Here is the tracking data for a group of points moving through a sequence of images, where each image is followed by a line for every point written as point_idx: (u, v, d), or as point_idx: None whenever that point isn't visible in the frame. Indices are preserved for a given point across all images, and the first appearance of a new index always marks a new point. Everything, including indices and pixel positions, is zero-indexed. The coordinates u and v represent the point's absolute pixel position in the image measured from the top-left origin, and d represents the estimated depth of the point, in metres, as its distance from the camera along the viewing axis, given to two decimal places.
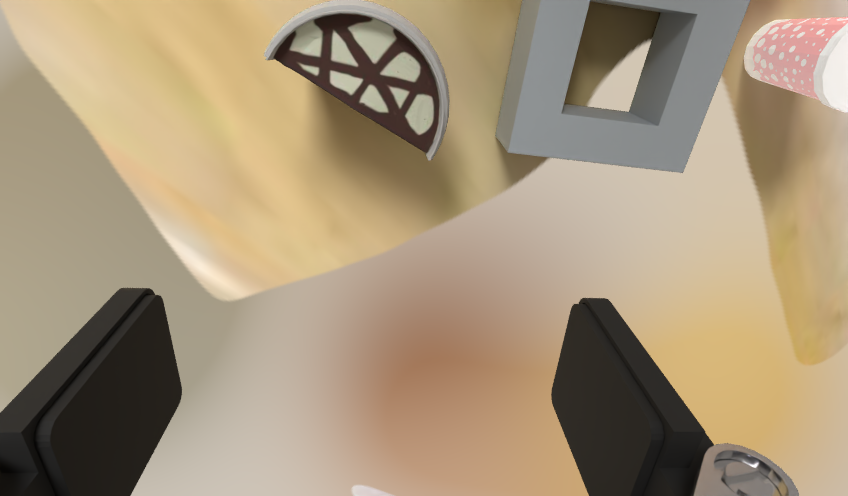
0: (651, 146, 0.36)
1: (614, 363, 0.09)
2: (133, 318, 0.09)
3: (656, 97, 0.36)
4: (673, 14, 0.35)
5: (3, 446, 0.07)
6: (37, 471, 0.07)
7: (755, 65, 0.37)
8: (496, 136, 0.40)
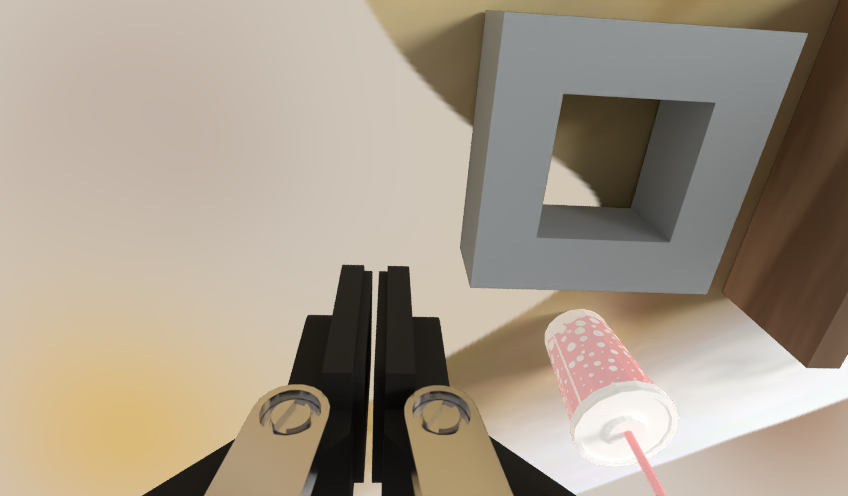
0: (508, 236, 0.26)
1: (377, 320, 0.10)
2: (366, 289, 0.11)
3: (560, 226, 0.27)
4: (643, 220, 0.29)
5: (334, 385, 0.08)
6: (349, 408, 0.08)
7: (571, 323, 0.33)
8: (488, 10, 0.25)
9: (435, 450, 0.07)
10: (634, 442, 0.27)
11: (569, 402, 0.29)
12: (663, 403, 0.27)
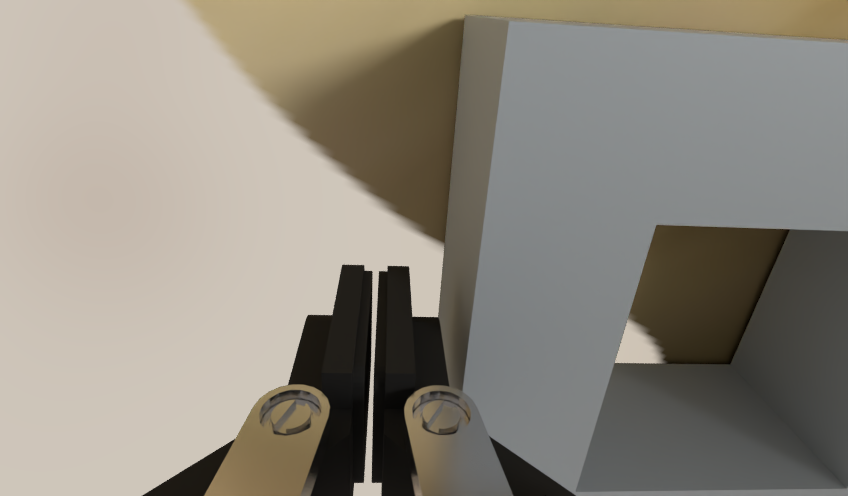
0: None
1: (377, 320, 0.10)
2: (366, 289, 0.11)
3: (618, 441, 0.14)
4: (764, 404, 0.16)
5: (334, 385, 0.08)
6: (349, 408, 0.08)
7: None
8: (470, 15, 0.11)
9: (435, 450, 0.07)
10: None
11: None
12: None
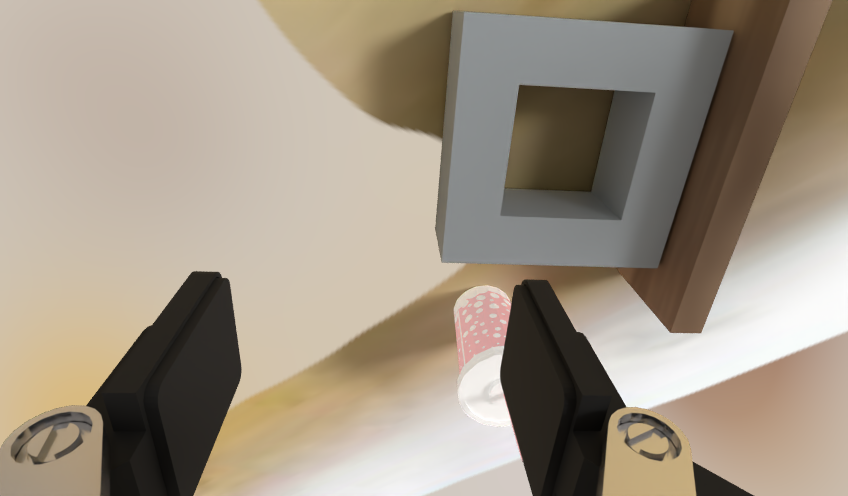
0: (475, 215, 0.28)
1: (541, 337, 0.09)
2: (209, 298, 0.10)
3: (523, 207, 0.30)
4: (600, 201, 0.32)
5: (119, 406, 0.07)
6: (144, 430, 0.08)
7: (472, 298, 0.36)
8: None
9: (629, 465, 0.07)
10: None
11: (459, 368, 0.32)
12: None
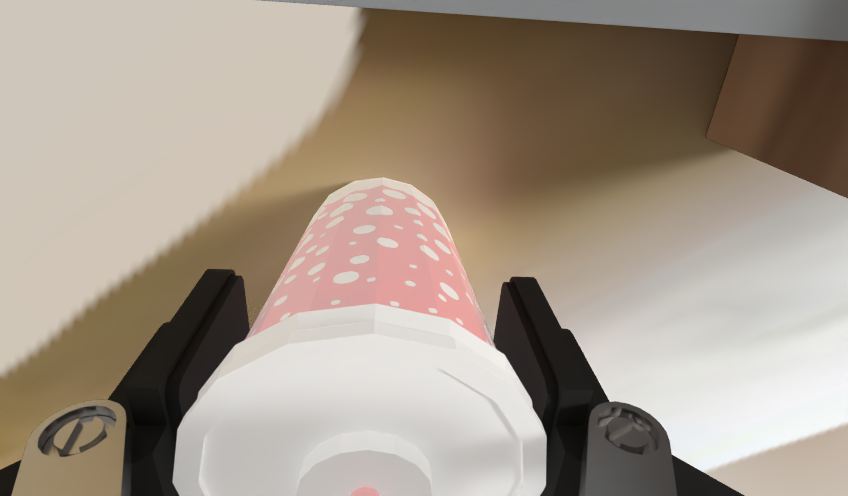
0: None
1: (526, 333, 0.09)
2: (224, 295, 0.10)
3: None
4: None
5: (141, 400, 0.07)
6: (165, 424, 0.08)
7: (337, 201, 0.14)
8: None
9: (610, 459, 0.07)
10: None
11: None
12: (477, 388, 0.07)
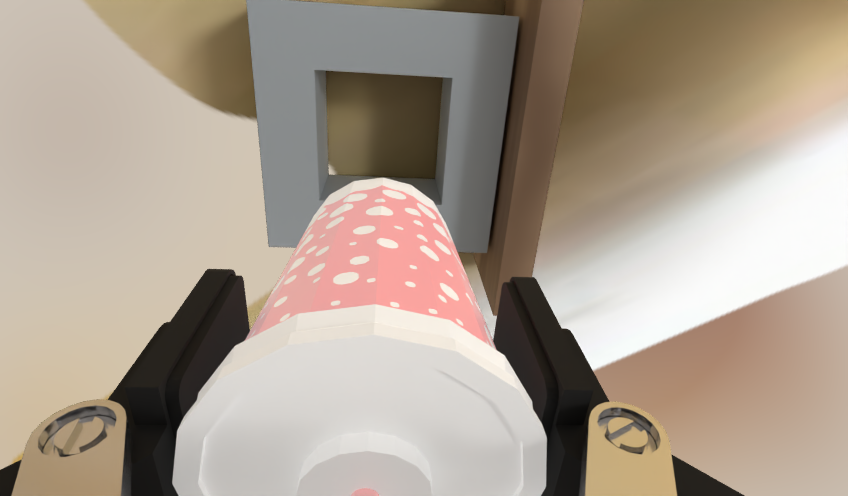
0: (293, 199, 0.29)
1: (526, 333, 0.09)
2: (224, 295, 0.10)
3: None
4: (436, 188, 0.33)
5: (141, 400, 0.07)
6: (165, 424, 0.08)
7: (337, 202, 0.14)
8: None
9: (610, 459, 0.07)
10: None
11: None
12: (477, 389, 0.07)
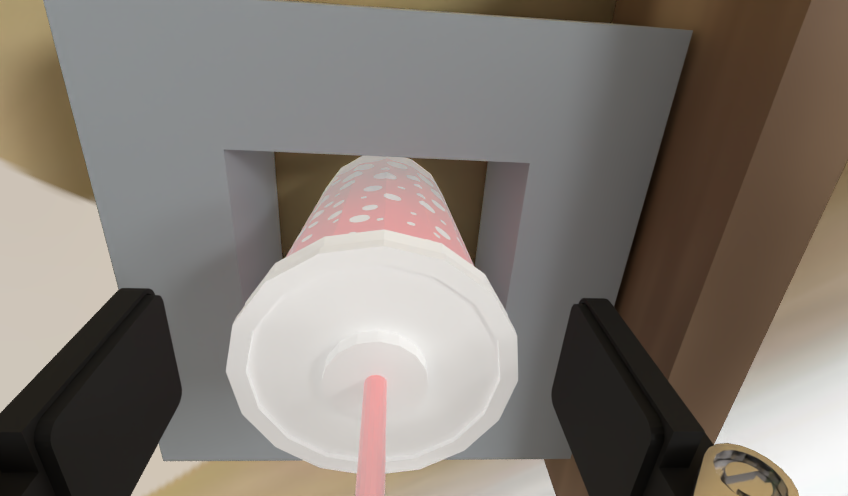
0: (203, 387, 0.15)
1: (614, 363, 0.09)
2: (133, 318, 0.09)
3: None
4: None
5: (3, 446, 0.07)
6: (37, 471, 0.07)
7: (348, 171, 0.16)
8: None
9: None
10: (370, 405, 0.09)
11: None
12: (462, 294, 0.09)
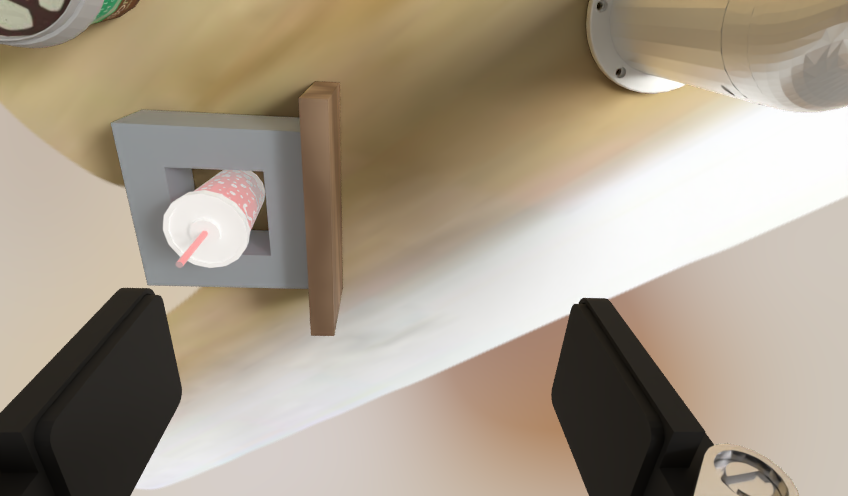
0: (161, 252, 0.40)
1: (614, 363, 0.09)
2: (133, 318, 0.09)
3: None
4: None
5: (3, 446, 0.07)
6: (37, 471, 0.07)
7: (217, 174, 0.41)
8: (140, 110, 0.39)
9: None
10: (199, 235, 0.35)
11: None
12: (225, 207, 0.35)
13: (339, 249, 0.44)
